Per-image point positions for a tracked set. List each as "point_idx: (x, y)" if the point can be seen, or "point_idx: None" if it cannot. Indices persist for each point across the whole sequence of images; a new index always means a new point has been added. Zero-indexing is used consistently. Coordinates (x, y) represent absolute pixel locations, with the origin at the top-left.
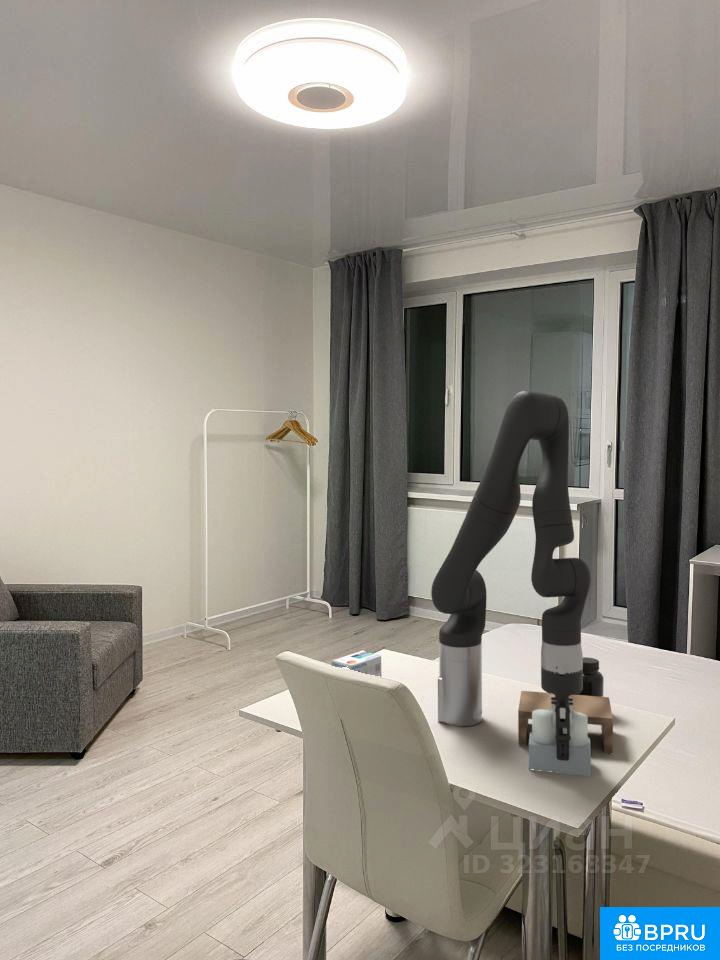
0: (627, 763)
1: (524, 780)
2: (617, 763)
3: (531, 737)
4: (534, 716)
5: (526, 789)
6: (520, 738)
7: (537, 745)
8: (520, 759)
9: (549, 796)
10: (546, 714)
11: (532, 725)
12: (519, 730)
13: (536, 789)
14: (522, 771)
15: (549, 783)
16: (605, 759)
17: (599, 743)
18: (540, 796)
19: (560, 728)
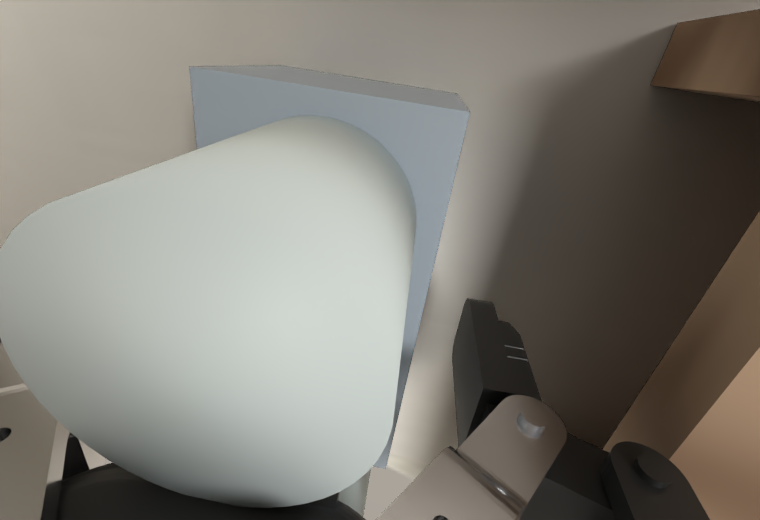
0: (407, 466)
1: (140, 21)
2: (404, 442)
3: (350, 112)
4: (50, 209)
5: (42, 23)
6: (701, 38)
7: (201, 146)
8: (424, 19)
9: (31, 141)
10: (170, 406)
11: (226, 140)
12: (756, 22)
13: (68, 83)
14: (251, 18)
15: (156, 161)
16: (438, 420)
17: (602, 442)
18: (9, 96)
19: (468, 376)
